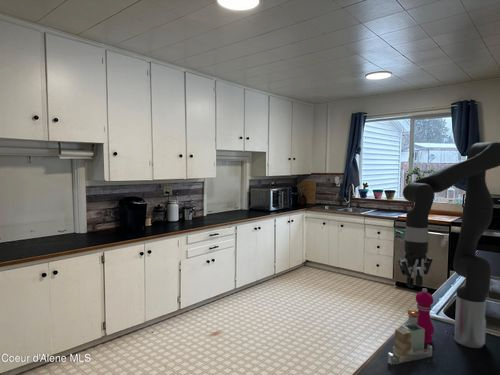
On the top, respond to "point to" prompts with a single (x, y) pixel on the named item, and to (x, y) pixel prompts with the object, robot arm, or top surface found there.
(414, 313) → the plunger
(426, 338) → the pepper mill
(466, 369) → the top surface
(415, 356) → the rail
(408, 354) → the carriage
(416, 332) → the cabinet
